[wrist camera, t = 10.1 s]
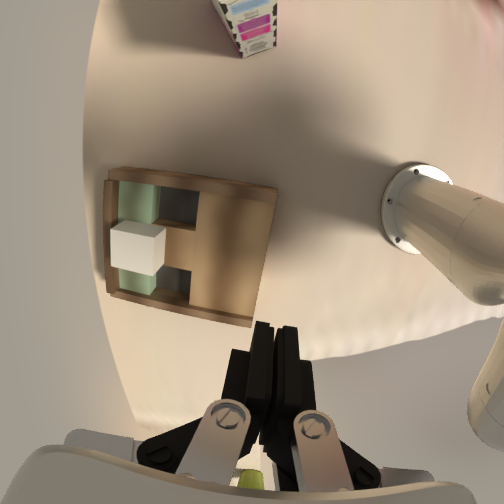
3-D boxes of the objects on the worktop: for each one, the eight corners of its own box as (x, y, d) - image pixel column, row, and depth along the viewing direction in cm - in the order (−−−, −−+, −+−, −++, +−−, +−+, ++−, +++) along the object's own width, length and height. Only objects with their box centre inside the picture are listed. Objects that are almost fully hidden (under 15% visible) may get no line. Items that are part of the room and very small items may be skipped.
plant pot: (231, 467, 63) (227, 492, 55) (265, 466, 62) (263, 492, 53) (240, 478, 66) (237, 502, 58) (271, 478, 65) (269, 501, 57)
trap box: (277, 188, 36) (277, 195, 31) (253, 312, 43) (250, 332, 38) (123, 166, 36) (104, 171, 31) (122, 283, 43) (107, 299, 38)
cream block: (166, 227, 36) (154, 237, 32) (164, 263, 37) (152, 276, 34) (125, 219, 36) (110, 228, 32) (124, 254, 37) (111, 266, 34)
